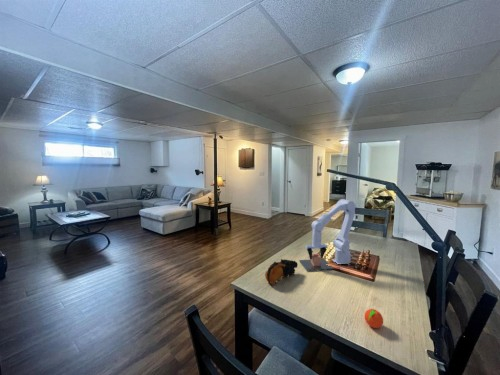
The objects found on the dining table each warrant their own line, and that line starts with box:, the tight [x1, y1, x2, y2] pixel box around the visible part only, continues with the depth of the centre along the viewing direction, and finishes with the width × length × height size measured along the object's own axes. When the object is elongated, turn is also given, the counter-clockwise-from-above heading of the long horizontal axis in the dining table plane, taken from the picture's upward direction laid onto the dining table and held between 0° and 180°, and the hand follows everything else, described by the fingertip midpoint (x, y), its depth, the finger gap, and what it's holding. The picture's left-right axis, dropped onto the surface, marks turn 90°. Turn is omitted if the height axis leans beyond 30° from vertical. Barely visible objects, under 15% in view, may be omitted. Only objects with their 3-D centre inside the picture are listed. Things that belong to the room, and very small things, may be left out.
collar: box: [311, 253, 321, 266], centre depth 144 cm, size 5×5×6 cm
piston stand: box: [298, 258, 335, 272], centre depth 144 cm, size 18×14×5 cm
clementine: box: [364, 308, 384, 329], centre depth 90 cm, size 8×7×7 cm
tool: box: [264, 258, 299, 286], centre depth 128 cm, size 8×23×15 cm, turn 129°
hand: (316, 258), depth 144 cm, fingers open, 7 cm apart
